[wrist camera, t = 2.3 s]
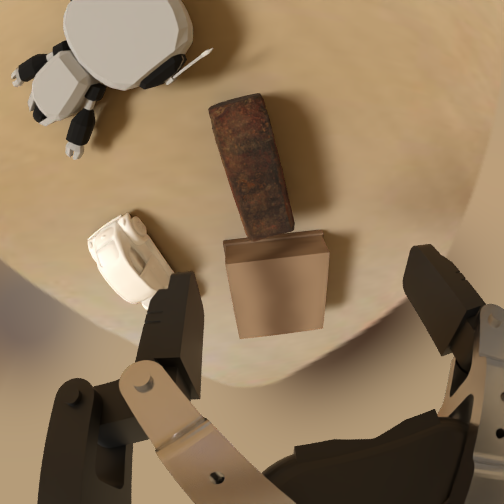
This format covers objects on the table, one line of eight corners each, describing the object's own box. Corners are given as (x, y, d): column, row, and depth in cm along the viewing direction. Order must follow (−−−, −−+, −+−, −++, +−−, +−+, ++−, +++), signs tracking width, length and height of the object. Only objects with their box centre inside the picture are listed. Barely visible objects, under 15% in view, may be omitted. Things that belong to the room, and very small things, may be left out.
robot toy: (91, 157, 23) (225, 49, 18) (67, 177, 20) (219, 45, 15) (24, 71, 17) (141, -46, 12) (-6, 80, 13) (120, -62, 9)
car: (88, 233, 27) (70, 260, 23) (130, 202, 25) (114, 228, 22) (158, 309, 33) (151, 340, 29) (201, 289, 32) (198, 321, 28)
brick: (287, 206, 27) (298, 232, 23) (245, 217, 27) (248, 245, 23) (258, 91, 21) (265, 94, 17) (209, 104, 21) (204, 111, 17)
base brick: (321, 229, 28) (331, 250, 25) (317, 306, 34) (324, 329, 31) (223, 240, 28) (222, 262, 25) (237, 316, 34) (238, 340, 31)
